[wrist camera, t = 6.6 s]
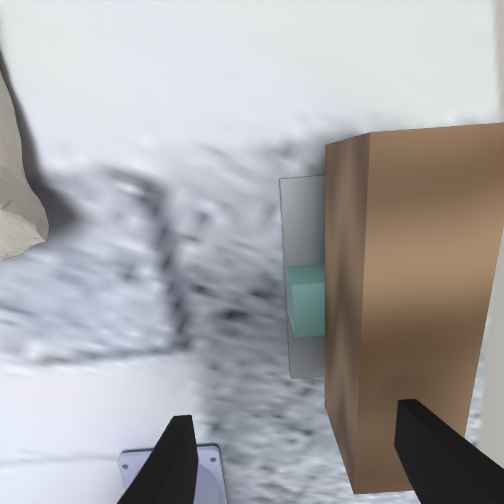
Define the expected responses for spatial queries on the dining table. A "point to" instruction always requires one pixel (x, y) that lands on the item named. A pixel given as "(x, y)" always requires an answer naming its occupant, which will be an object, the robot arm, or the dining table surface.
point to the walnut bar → (406, 283)
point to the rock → (16, 189)
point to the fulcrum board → (301, 251)
